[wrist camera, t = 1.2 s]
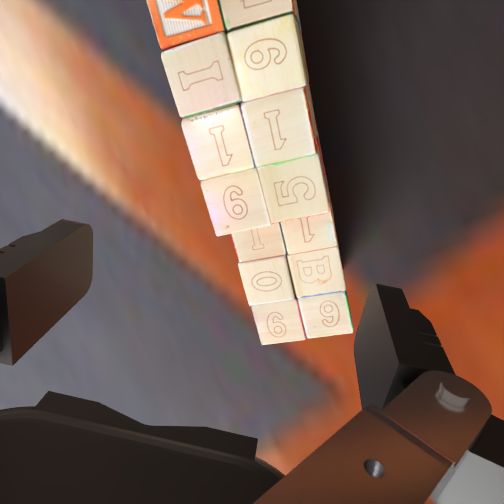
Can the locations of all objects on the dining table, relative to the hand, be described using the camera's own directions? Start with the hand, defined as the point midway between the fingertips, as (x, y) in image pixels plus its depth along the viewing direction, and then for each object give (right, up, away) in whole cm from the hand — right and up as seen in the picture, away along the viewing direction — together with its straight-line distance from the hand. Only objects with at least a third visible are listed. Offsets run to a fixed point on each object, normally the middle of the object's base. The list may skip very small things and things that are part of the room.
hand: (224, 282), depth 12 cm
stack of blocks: (+3, +8, +20) cm, 22 cm away
